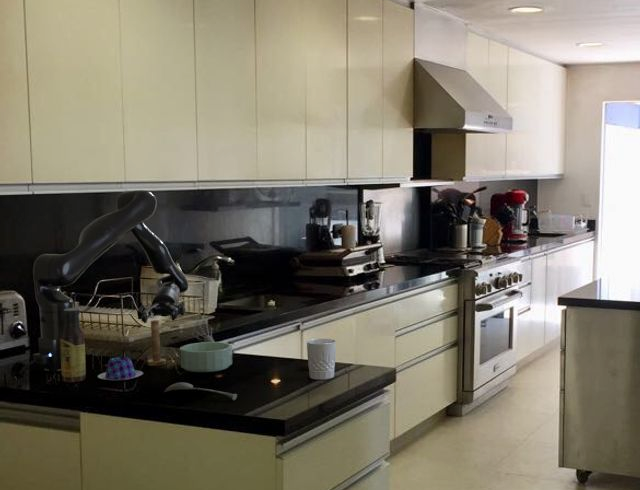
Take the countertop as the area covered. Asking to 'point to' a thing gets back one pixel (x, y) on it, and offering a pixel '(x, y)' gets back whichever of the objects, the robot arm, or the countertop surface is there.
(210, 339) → the kitchen whisk
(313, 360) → the white cup
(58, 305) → the robot arm
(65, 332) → the sauce bottle
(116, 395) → the countertop surface
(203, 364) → the bowl
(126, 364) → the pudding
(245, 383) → the countertop surface
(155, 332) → the stirrer
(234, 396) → the soupspoon
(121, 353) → the countertop surface
